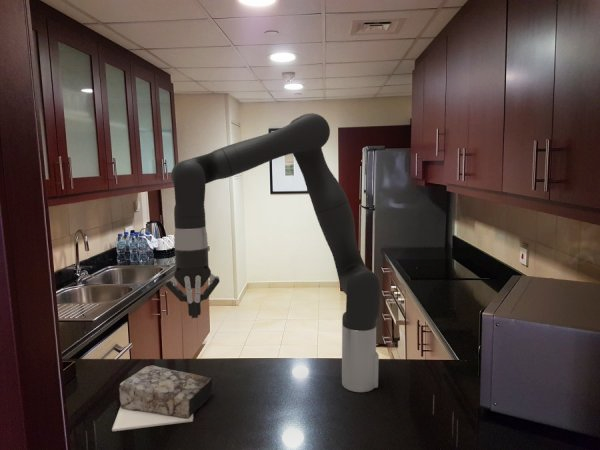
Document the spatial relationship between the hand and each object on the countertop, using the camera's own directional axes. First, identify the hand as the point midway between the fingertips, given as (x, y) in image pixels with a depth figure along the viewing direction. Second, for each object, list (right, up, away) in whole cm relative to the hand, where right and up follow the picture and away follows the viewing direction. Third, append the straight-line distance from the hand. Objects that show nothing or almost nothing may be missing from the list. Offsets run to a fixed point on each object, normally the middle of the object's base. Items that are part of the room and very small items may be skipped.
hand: (194, 316), depth 103 cm
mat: (-10, -24, +3) cm, 27 cm away
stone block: (+1, -21, +5) cm, 22 cm away
